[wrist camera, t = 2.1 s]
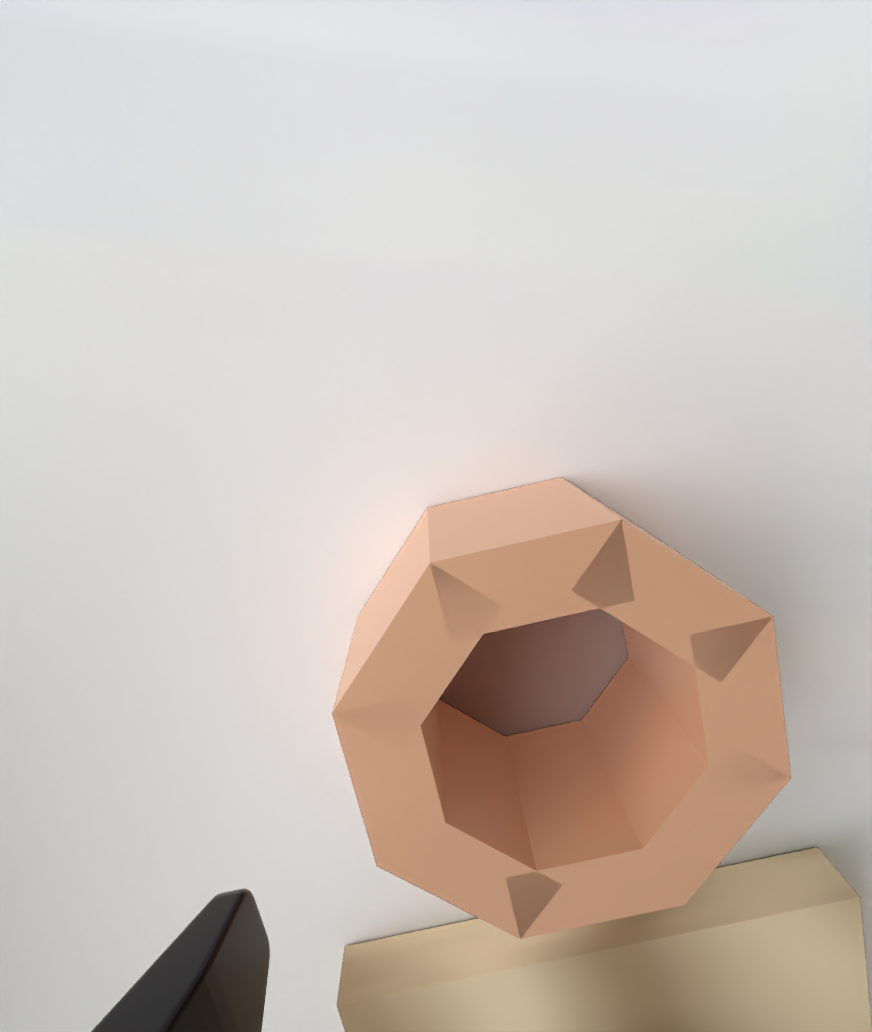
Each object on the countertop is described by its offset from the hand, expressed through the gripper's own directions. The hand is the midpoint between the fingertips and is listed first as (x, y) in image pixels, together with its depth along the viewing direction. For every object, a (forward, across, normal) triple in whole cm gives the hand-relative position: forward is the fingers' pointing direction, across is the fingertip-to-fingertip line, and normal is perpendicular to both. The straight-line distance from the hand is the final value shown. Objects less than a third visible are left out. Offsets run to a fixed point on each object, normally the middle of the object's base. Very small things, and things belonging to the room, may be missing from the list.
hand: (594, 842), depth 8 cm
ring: (+6, 0, 0) cm, 6 cm away
